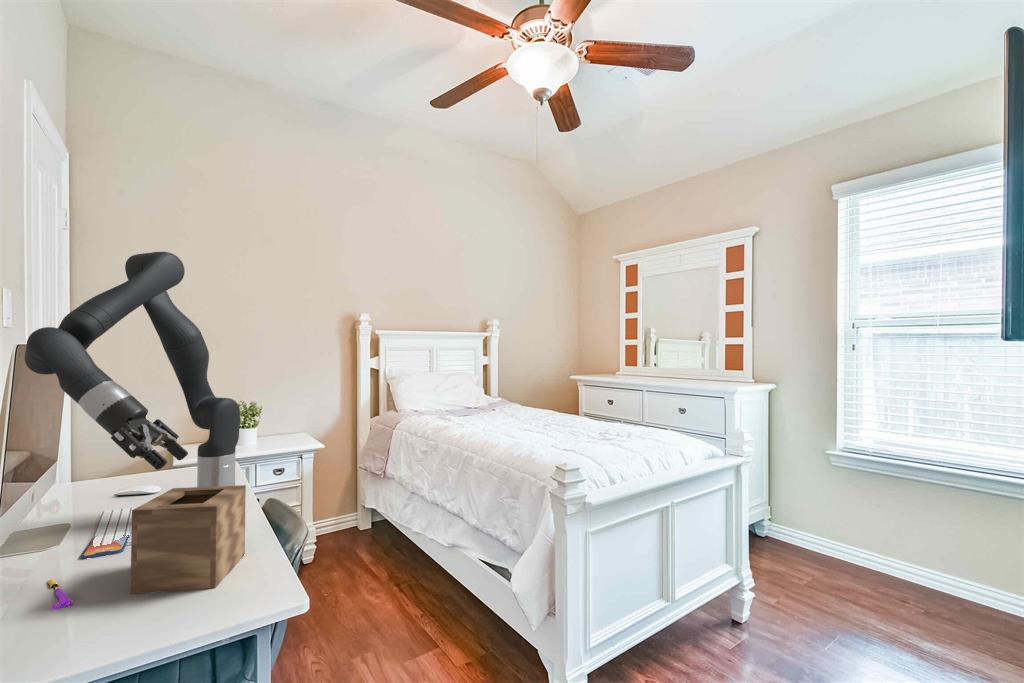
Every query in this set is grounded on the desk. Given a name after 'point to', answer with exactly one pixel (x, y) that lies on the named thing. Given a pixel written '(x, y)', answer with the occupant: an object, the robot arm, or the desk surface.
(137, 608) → the desk surface
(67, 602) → the linear piston actuator
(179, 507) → the box
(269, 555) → the desk surface
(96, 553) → the smartphone
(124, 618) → the desk surface
